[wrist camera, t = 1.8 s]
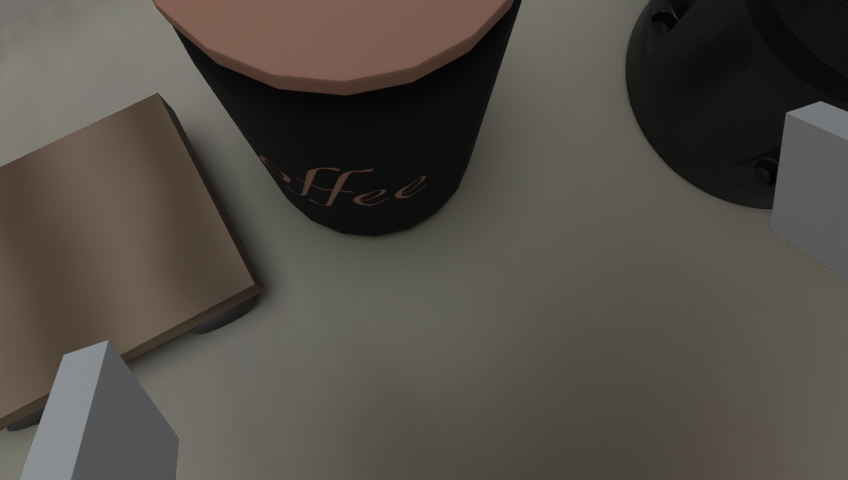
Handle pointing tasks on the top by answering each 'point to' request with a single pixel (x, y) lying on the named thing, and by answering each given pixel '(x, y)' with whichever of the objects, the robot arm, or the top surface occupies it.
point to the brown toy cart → (110, 251)
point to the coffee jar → (353, 96)
